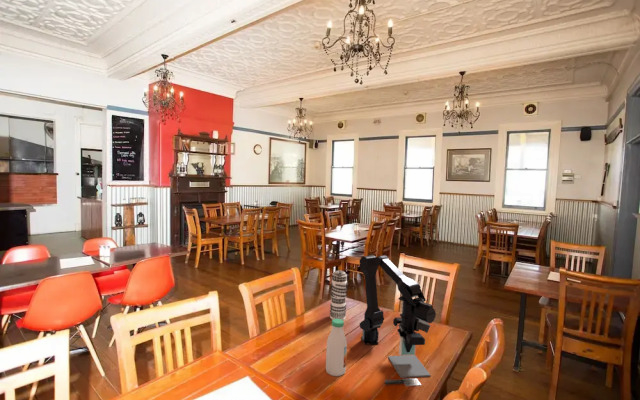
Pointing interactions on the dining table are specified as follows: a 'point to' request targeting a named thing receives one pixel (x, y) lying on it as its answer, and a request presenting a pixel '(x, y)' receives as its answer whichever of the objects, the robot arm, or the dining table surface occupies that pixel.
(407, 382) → the turner
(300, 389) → the dining table surface
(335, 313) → the decorative candle
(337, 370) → the milk bottle
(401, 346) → the tile
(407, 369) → the mat
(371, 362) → the dining table surface
